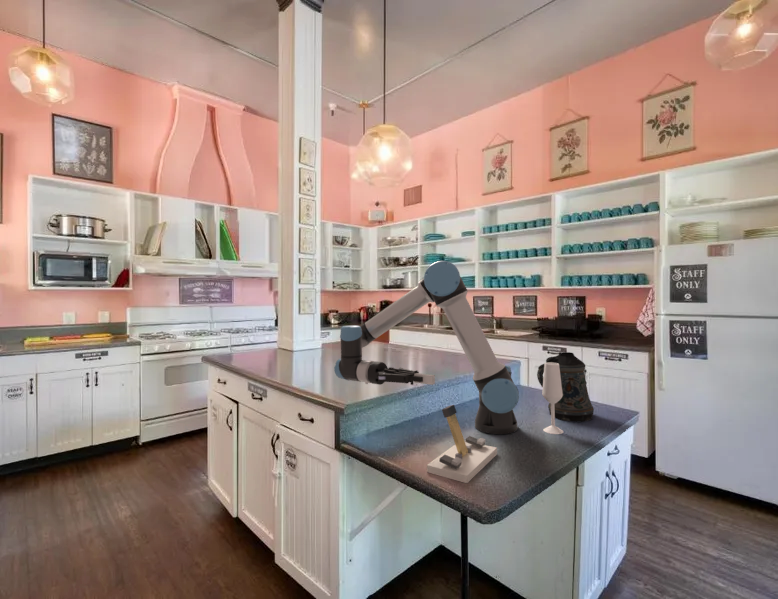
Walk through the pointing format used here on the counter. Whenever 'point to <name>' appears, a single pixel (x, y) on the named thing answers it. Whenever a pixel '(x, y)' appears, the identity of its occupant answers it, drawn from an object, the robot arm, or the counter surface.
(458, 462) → the block
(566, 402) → the beer stein
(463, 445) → the brass lever
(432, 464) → the switch panel
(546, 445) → the counter surface
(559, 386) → the champagne flute
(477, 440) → the block
